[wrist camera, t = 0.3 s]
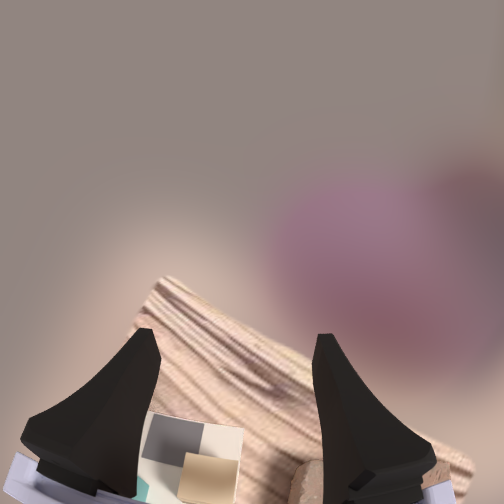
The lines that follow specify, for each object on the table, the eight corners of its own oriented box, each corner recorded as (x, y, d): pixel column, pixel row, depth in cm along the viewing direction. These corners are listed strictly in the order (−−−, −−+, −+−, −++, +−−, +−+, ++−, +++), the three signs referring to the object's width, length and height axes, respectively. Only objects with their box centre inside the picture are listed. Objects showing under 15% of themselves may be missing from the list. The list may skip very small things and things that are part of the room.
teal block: (140, 523, 17) (126, 519, 14) (97, 507, 17) (78, 500, 15) (149, 485, 21) (138, 475, 18) (107, 472, 21) (91, 459, 18)
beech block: (230, 510, 20) (232, 506, 17) (182, 502, 20) (176, 496, 17) (236, 471, 23) (238, 460, 21) (190, 464, 23) (186, 452, 21)
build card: (228, 547, 16) (228, 548, 16) (94, 512, 17) (93, 512, 16) (244, 428, 28) (244, 427, 28) (128, 406, 28) (128, 404, 28)
